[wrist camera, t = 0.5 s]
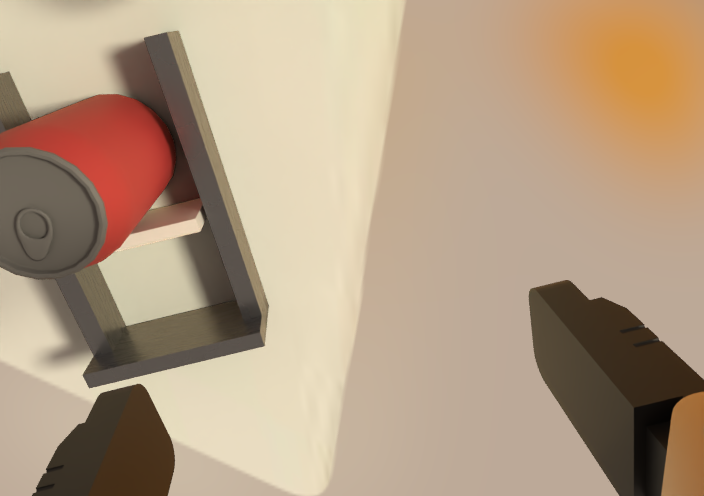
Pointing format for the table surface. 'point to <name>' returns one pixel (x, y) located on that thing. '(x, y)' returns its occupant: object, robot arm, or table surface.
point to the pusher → (167, 224)
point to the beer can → (79, 183)
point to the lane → (209, 176)
